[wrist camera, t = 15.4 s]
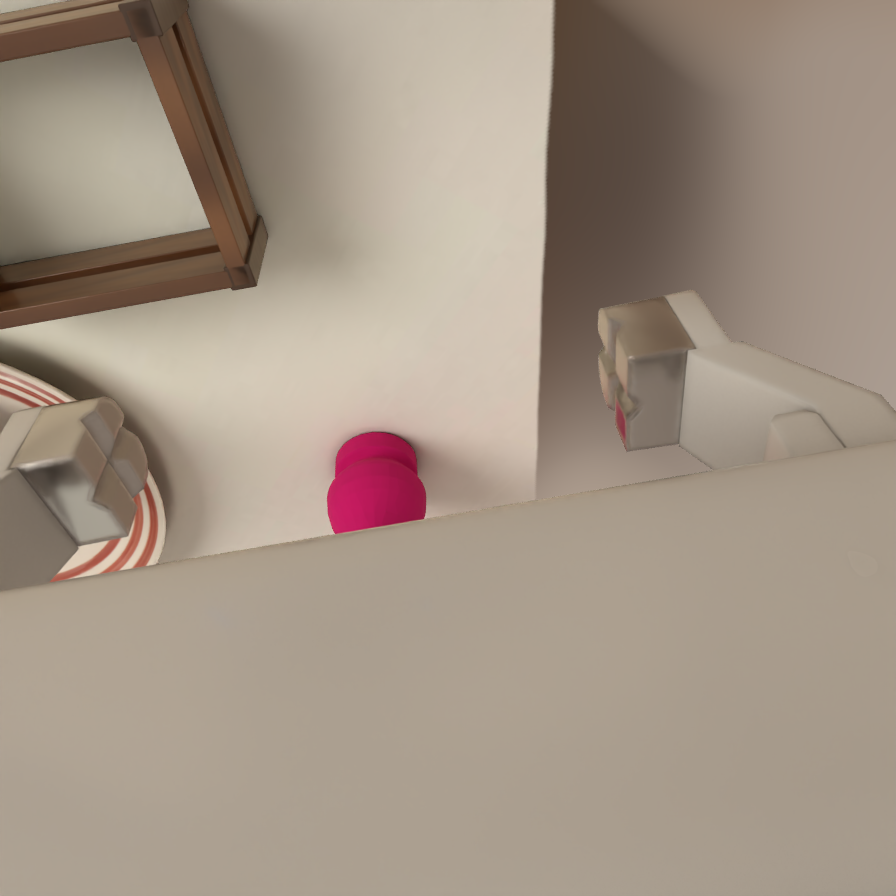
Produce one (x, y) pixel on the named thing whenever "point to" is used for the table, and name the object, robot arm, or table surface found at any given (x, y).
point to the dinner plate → (17, 390)
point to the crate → (203, 149)
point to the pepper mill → (375, 484)
